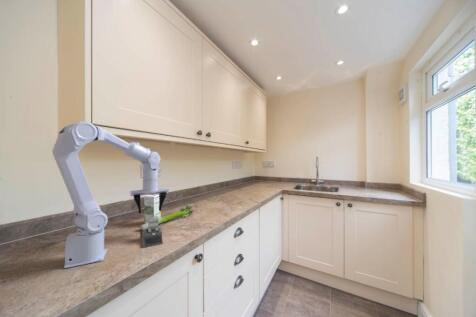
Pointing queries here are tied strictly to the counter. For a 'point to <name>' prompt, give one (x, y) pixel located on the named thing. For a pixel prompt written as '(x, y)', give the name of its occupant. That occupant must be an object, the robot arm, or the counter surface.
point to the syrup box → (151, 207)
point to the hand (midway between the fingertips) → (150, 211)
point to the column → (153, 224)
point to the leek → (171, 216)
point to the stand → (151, 238)
